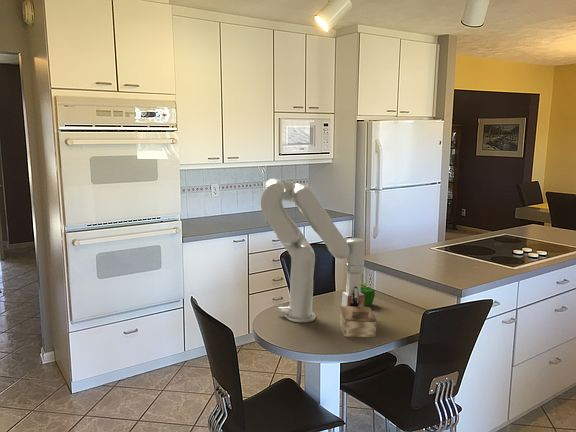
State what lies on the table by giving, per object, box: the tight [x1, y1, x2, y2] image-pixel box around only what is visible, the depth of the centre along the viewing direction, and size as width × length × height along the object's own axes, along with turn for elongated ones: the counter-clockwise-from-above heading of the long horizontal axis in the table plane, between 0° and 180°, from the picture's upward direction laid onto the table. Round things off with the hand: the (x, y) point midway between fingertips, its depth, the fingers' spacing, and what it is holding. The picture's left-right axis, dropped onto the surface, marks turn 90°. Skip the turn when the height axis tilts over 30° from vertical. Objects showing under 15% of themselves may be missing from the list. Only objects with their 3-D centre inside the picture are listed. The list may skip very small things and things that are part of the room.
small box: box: [341, 291, 365, 307], centre depth 204 cm, size 8×6×10 cm
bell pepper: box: [360, 282, 376, 307], centre depth 220 cm, size 8×8×10 cm
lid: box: [340, 305, 377, 322], centre depth 190 cm, size 12×14×3 cm
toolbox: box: [339, 310, 377, 338], centre depth 190 cm, size 12×14×6 cm
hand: (352, 308), depth 204 cm, fingers closed on small box, 6 cm apart
